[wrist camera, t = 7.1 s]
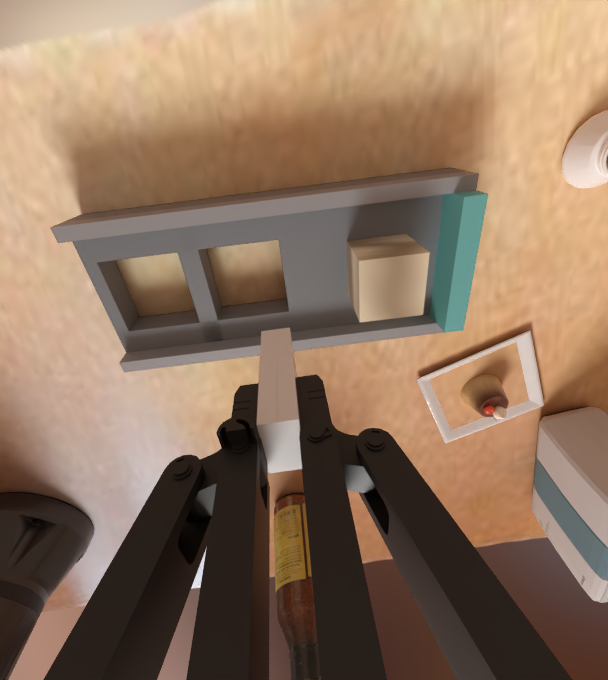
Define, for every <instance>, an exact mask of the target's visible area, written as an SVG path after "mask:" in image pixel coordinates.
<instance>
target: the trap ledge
mask: <svg viewBox="0 0 608 680" xmlns="http://www.w3.org/2000/svg"><path fill="white" fill-rule="evenodd" d="M478 175H479V174H478V173H473V172H469V171H464V170H459V169H455V168H446V169H438V170H430V171H422V172H414V173H406V174H398V175H390V176H382V177H374V178H367V179H359V180H351V181H343V182H335V183H327V184H319V185H311V186H303V187H295V188H287V189H279V190H271V191H264V192H256V193H248V194H240V195H232V196H224V197H216V198H208V199H200V200H192V201H184V202H176V203H168V204H161V205H153V206H145V207H137V208H129V209H121V210H113V211H105V212H97V213H89V214H81V215H79V216H77V217H74V218H72V219H70V220H67V221H65V222H63V223H60V224H58V225H55V226H53V227H51V230H52V232H53V234H54V236H55V238H56V240H57V242H58V243H62V242H70V241H72V242H73V244H74V246H75V248H76V250H77V252H78V254H79V256H80V258H81V260H82V262H83V264H84V267H85V269H86V271H87V273H88V275H89V277H90V279H91V281H92V283H93V285H94V287H95V289H96V291H97V293H98V295H99V297H100V299H101V301H102V303H103V306H104V308H105V310H106V312H107V314H108V316H109V318H110V320H111V322H112V324H113V326H114V328H115V330H116V332H117V334H118V336H119V338H120V340H121V343H122V345H123V347H124V349H125V351H126V354H125V355H124V357H123V358H122V360H121V361H120V365H121V367H122V369H123V371H124V372H131V371H139V370H147V369H155V368H163V367H171V366H179V365H187V364H195V363H203V362H211V361H219V360H227V359H235V358H243V357H251V356H259V355H260V347H261V331H267V330H274V329H282V328H289V327H290V332H291V339H292V345H293V351H299V350H307V349H315V348H323V347H331V346H339V345H347V344H355V343H363V342H371V341H379V340H387V339H395V338H403V337H411V336H419V335H427V334H435V333H443V332H444V333H445V332H453V331H461V330H463V329H464V323H465V318H466V312H467V307H468V301H469V296H470V290H471V285H472V279H473V274H474V269H475V263H476V258H477V252H478V247H479V241H480V236H481V230H482V225H483V219H484V214H485V208H486V203H487V197H488V194H486V193H483V192H480V191H476V187H477V181H478ZM400 234H407V235H409V236H410V237H411V238H412V239H414V240H415V241H416V242H417V243H419V244H420V245H421V246H422V247H424V248H425V249H426V250H427V251H428V252H430V254H429V264H428V273H427V282H426V292H425V301H424V310H423V315H418V316H410V317H402V318H393V319H385V320H377V321H369V322H359V320H358V317H357V315H356V313H355V310H354V308H353V305H352V303H351V301H350V298H349V296H348V268H347V241H350V240H359V239H367V238H375V237H383V236H392V235H400ZM271 240H279V246H280V252H281V259H282V266H283V273H284V280H285V286H286V293H287V299H282V300H274V301H266V302H258V303H250V304H242V305H234V306H226V307H222V304H221V301H220V297H219V293H218V290H217V286H216V282H215V278H214V275H213V271H212V267H211V264H210V260H209V256H208V252H207V249H208V248H216V247H224V246H232V245H240V244H248V243H256V242H263V241H271ZM176 252H178V255H179V258H180V262H181V265H182V268H183V271H184V274H185V277H186V280H187V283H188V287H189V290H190V293H191V296H192V299H193V302H194V305H195V308H196V310H194V311H186V312H178V313H170V314H162V315H154V316H146V317H139V315H138V313H137V310H136V308H135V306H134V304H133V301H132V299H131V297H130V294H129V292H128V290H127V287H126V285H125V283H124V280H123V278H122V276H121V273H120V271H119V269H118V266H117V264H116V262H115V260H121V259H128V258H136V257H144V256H152V255H160V254H168V253H176Z"/></svg>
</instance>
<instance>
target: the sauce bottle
mask: <svg viewBox="0 0 608 680" xmlns="http://www.w3.org/2000/svg"><path fill="white" fill-rule="evenodd" d="M274 546H275V578H276V579H275V581H276V600H277V611H278V621H279V624H280V626H281V628H282V631H283V633H284V636H285V639H286V642H287V645H288V647H289V650H290V654H289V657H290V660H291V680H321V675H320V664H319V653H318V641H317V630H316V619H315V608H314V597H313V585H312V574H311V563H310V552H309V540H308V529H307V518H306V507H305V496H304V495H302V494H292V495H288V496H285V497H283V498H281V499H280V500H279V501H278V502H277V503H276V506H275V508H274Z"/></svg>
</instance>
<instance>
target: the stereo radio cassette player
mask: <svg viewBox="0 0 608 680" xmlns="http://www.w3.org/2000/svg"><path fill="white" fill-rule="evenodd" d="M532 510H533V513H534V515H535V517H536V518H537V520H538V522H539V523H540V525H541V527H542V528H543V530H544V532H545V533H546V535H547V536H548V538H549V539H550V541H551V542H552V544H553V546H554V547H555V549H556V550H557V552H558V553H559V554H560V556H561V558H562V559H563V560H564V562H565V563H566V565H567V566H568V567H569V569H570V571H571V572H572V573H573V575H574V576H575V578H576V579H577V580H578V582H579V583H580V585H581V586H582V587H583V589H584V590H585V591H586V592H587V594H588V595H589V596H590V597H591V598H592V599H593V600H594V601H599V602H601V603H603V602H608V415H607V414H606V413H605V412H604V411H603V410H601V409H599V408H595V407H593V406H590V407H585V408H580V409H576V410H571V411H566V412H562V413H558V414H554V415H550V416H544V417H543V418H542V419H541V421H540V422H539V431H538V442H537V453H536V463H535V474H534V485H533V497H532Z"/></svg>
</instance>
